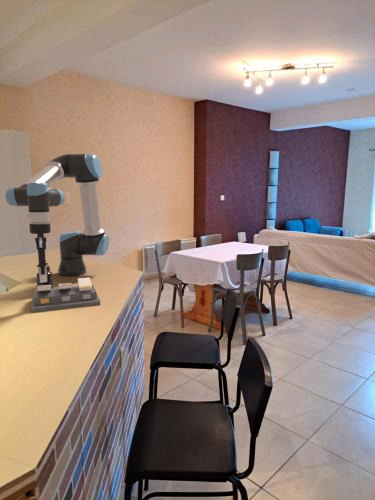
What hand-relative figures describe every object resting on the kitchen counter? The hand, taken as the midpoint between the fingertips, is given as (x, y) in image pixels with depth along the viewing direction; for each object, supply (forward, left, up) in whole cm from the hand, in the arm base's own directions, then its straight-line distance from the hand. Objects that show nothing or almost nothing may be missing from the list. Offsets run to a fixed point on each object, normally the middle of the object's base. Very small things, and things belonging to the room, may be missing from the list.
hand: (43, 281), depth 140 cm
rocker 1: (-3, 0, -3) cm, 5 cm away
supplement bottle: (-21, 0, -10) cm, 23 cm away
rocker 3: (-3, +16, -3) cm, 17 cm away
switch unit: (-2, +8, -10) cm, 13 cm away
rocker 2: (-3, +8, -3) cm, 9 cm away
